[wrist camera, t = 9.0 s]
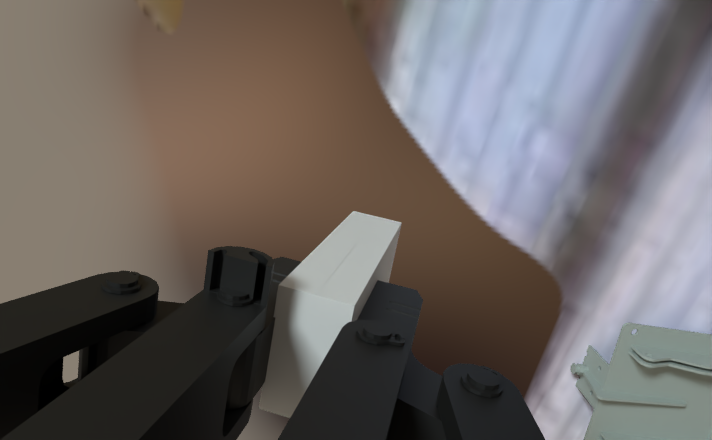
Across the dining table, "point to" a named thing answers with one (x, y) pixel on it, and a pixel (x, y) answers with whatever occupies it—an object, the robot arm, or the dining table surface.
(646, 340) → the metal bracket
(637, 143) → the dining table surface
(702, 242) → the dining table surface
